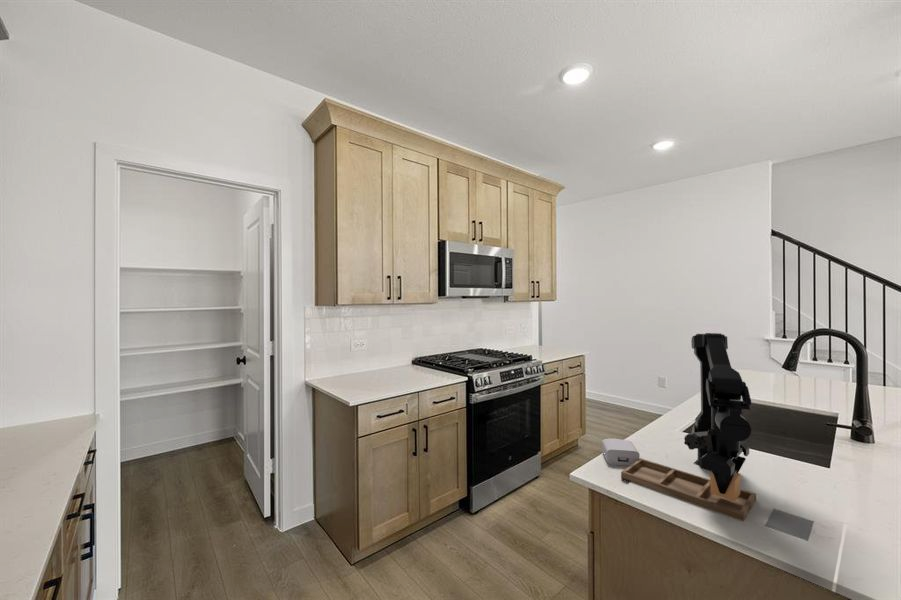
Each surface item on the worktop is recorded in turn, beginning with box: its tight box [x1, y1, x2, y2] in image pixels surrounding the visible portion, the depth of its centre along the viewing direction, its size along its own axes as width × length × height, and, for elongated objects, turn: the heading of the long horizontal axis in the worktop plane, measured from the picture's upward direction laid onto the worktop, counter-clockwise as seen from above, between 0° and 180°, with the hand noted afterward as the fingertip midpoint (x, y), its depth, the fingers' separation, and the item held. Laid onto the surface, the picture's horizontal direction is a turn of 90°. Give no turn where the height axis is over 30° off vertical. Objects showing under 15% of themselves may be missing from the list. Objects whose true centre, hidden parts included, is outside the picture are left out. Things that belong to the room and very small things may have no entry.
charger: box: [601, 437, 641, 467], centre depth 124 cm, size 5×9×15 cm
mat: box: [764, 508, 815, 542], centre depth 86 cm, size 10×7×1 cm
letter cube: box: [709, 471, 741, 501], centre depth 95 cm, size 5×5×5 cm
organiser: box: [620, 457, 757, 522], centre depth 101 cm, size 13×28×2 cm, turn 41°
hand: (725, 489), depth 95 cm, fingers closed on letter cube, 5 cm apart
